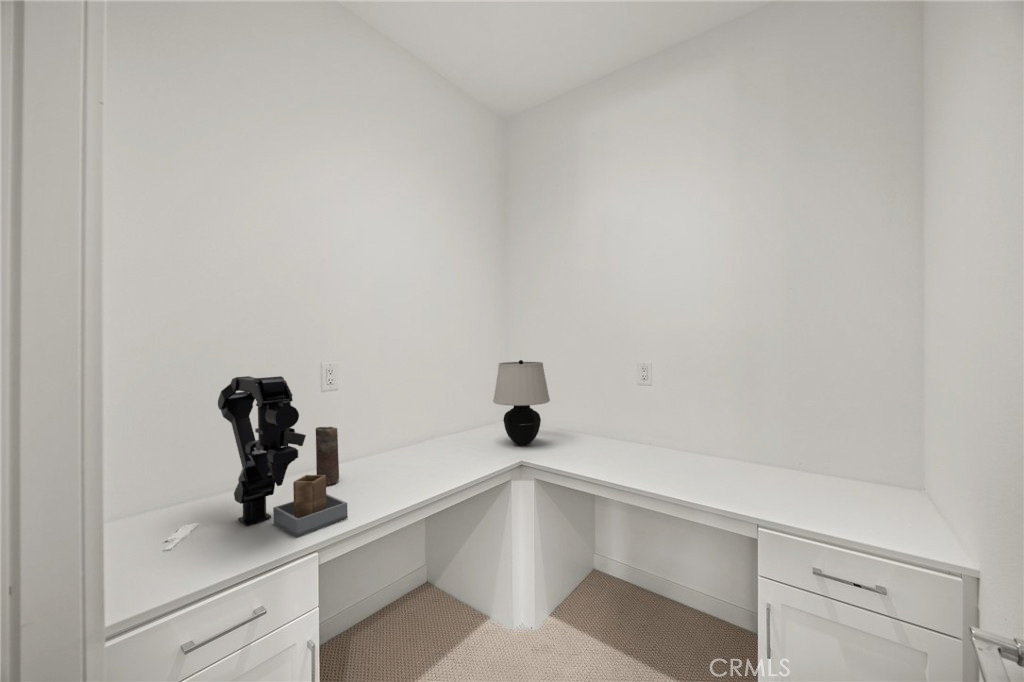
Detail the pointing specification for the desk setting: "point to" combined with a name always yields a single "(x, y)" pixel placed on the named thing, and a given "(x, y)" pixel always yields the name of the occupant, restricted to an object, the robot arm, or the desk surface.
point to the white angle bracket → (179, 536)
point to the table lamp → (521, 398)
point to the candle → (327, 454)
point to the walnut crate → (309, 495)
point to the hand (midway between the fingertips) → (271, 482)
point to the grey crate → (309, 517)
